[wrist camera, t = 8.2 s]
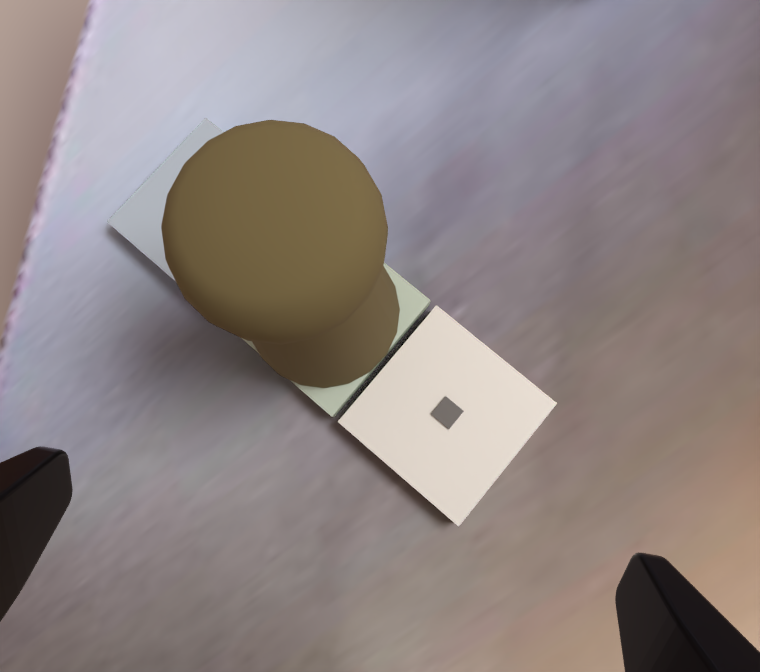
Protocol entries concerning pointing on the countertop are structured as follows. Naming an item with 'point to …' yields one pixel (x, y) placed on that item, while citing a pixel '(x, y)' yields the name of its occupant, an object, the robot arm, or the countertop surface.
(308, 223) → the cork
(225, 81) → the countertop surface
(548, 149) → the countertop surface
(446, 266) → the countertop surface
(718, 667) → the robot arm
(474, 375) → the tile strip
